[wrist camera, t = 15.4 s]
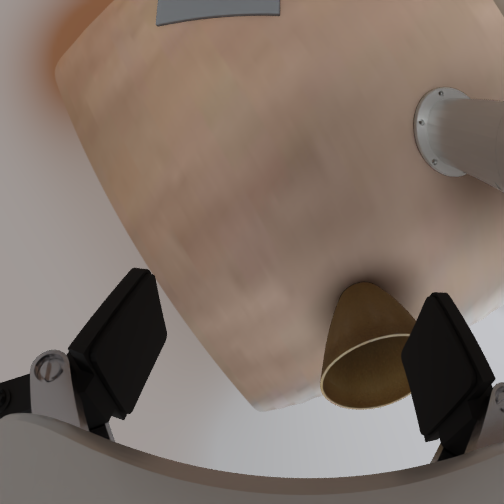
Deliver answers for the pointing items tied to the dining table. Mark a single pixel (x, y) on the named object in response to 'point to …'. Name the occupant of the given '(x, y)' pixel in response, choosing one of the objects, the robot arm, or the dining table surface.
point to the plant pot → (366, 349)
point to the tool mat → (212, 9)
